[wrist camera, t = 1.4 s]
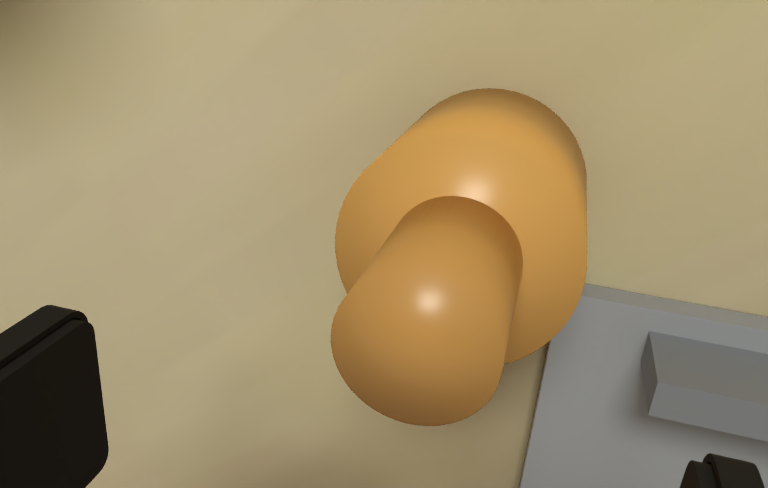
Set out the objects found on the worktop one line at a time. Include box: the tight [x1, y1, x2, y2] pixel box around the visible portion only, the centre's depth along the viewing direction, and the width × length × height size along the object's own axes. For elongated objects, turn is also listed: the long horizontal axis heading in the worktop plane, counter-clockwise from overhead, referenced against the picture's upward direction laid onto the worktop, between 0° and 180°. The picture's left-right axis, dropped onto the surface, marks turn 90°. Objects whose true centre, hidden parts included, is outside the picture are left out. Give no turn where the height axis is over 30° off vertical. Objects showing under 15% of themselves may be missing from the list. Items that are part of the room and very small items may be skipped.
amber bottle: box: [331, 88, 587, 426], centre depth 18 cm, size 6×6×11 cm
